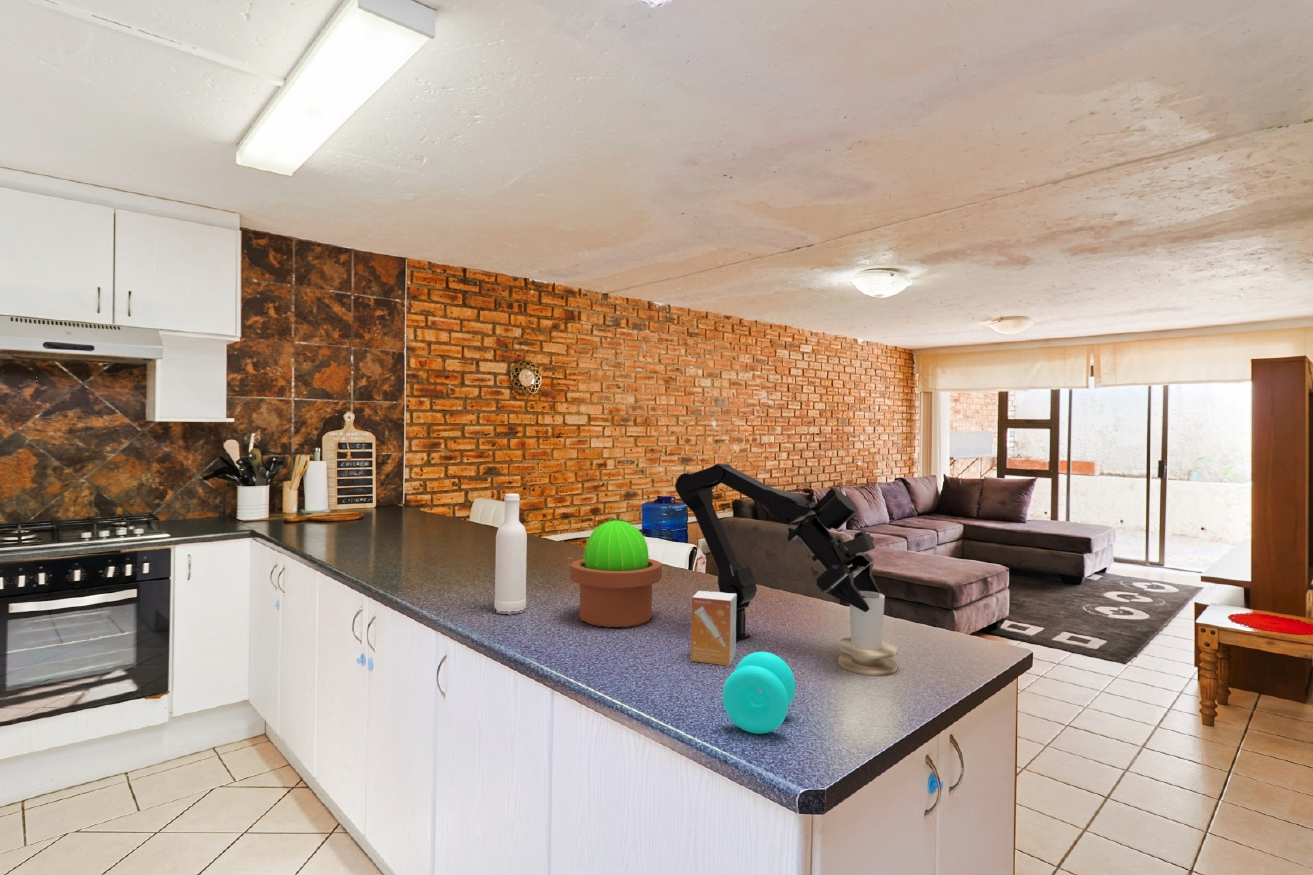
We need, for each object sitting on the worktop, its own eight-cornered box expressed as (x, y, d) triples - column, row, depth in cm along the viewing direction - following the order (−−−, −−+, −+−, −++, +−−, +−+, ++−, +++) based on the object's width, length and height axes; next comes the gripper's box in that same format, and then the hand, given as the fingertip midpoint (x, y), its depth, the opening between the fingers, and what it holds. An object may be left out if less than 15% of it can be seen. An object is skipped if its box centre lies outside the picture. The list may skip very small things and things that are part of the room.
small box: (690, 661, 128) (691, 596, 128) (697, 652, 134) (698, 589, 134) (730, 666, 125) (731, 600, 126) (736, 656, 131) (737, 592, 132)
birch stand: (878, 679, 119) (878, 658, 119) (827, 664, 128) (827, 643, 128) (907, 666, 127) (907, 646, 127) (857, 652, 135) (857, 633, 135)
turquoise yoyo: (720, 730, 97) (720, 664, 98) (735, 705, 107) (736, 645, 107) (786, 742, 94) (786, 674, 94) (796, 715, 103) (797, 653, 103)
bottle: (501, 606, 168) (503, 492, 169) (530, 608, 167) (532, 493, 168) (489, 614, 160) (491, 494, 161) (519, 616, 159) (521, 495, 160)
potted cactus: (627, 637, 144) (629, 525, 144) (552, 621, 155) (554, 518, 155) (676, 615, 162) (677, 516, 162) (606, 602, 174) (607, 510, 174)
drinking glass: (843, 645, 127) (844, 595, 127) (856, 637, 132) (856, 589, 132) (877, 652, 123) (877, 600, 123) (889, 644, 128) (889, 594, 128)
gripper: (833, 523, 122) (891, 589, 116) (864, 514, 137) (917, 573, 131) (793, 559, 127) (848, 625, 120) (827, 547, 142) (877, 605, 135)
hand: (875, 605), depth 126 cm, fingers open, 9 cm apart
